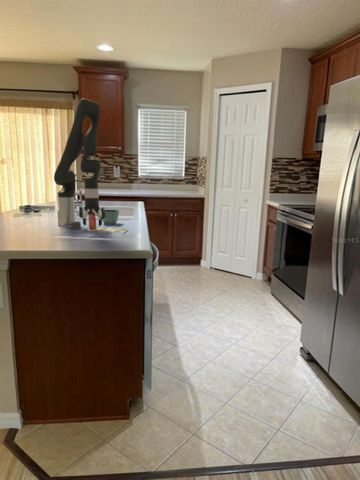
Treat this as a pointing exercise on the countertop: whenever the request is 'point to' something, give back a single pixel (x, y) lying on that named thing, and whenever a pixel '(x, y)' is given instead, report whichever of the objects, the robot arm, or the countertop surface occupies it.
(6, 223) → the countertop surface
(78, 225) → the die
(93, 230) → the board
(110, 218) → the flower pot
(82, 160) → the robot arm
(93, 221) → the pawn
